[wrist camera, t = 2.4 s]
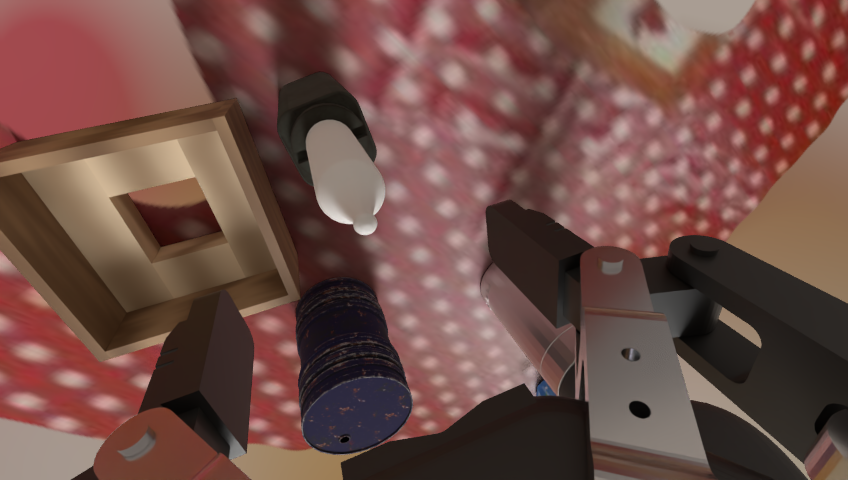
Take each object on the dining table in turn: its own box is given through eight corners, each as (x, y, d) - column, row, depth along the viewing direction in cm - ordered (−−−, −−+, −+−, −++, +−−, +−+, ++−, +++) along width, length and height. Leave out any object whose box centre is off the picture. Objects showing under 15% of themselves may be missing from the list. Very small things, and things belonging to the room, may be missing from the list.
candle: (273, 89, 32) (257, 195, 11) (328, 67, 32) (410, 130, 12) (301, 144, 35) (330, 311, 14) (352, 123, 35) (452, 253, 15)
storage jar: (318, 265, 41) (333, 365, 29) (393, 289, 46) (434, 385, 34) (280, 333, 44) (280, 452, 31) (355, 349, 49) (380, 458, 36)
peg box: (236, 98, 31) (224, 115, 25) (297, 254, 40) (300, 299, 33) (16, 142, 28) (-66, 176, 22) (133, 302, 37) (99, 362, 30)
